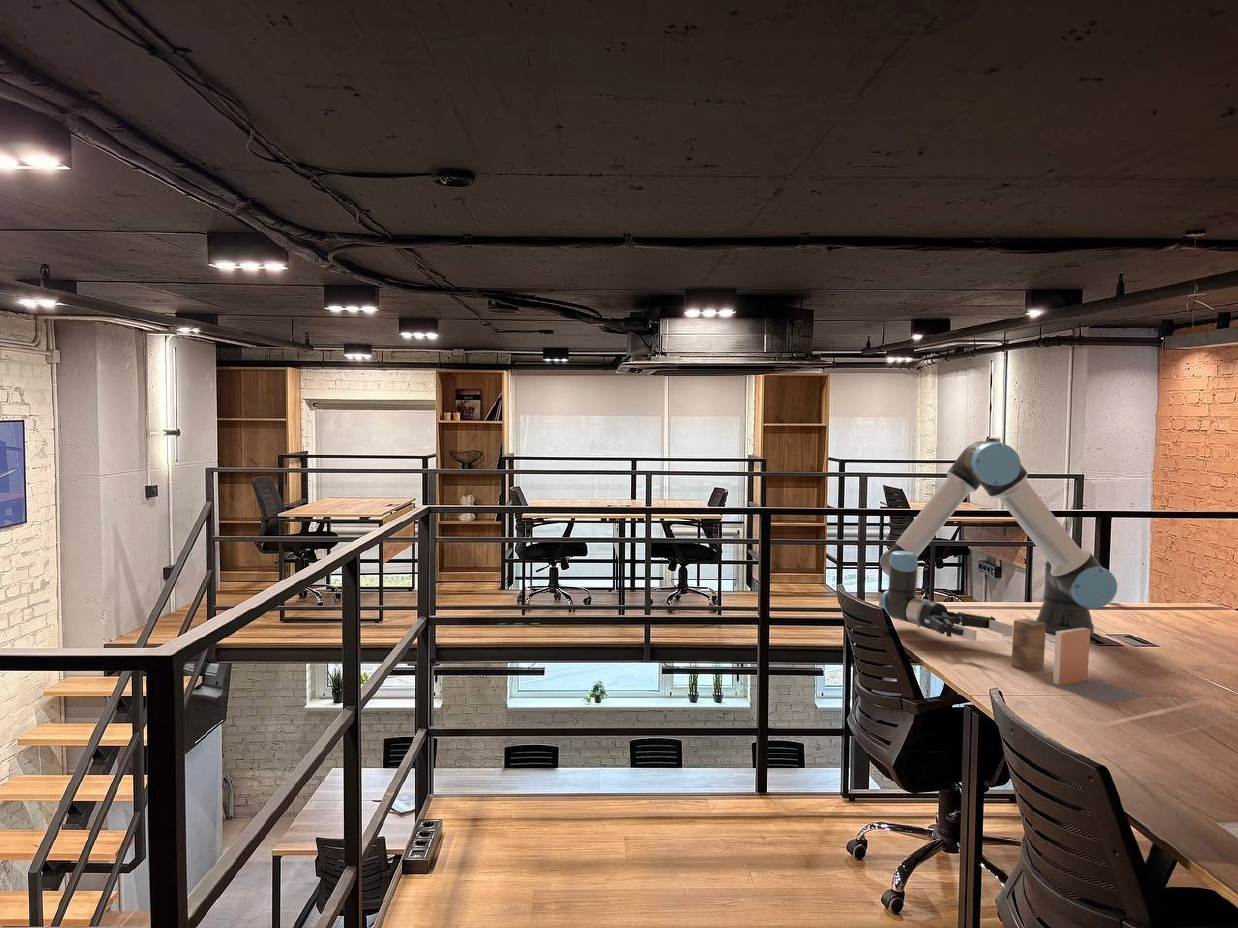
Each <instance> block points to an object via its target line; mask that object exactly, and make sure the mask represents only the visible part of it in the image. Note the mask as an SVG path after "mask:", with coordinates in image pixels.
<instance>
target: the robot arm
mask: <svg viewBox="0 0 1238 928" xmlns="http://www.w3.org/2000/svg"><path fill="white" fill-rule="evenodd" d="M1021 463H1022V462H1021V458H1020V455H1019V454H1018V452H1017V451H1016V450H1015V449H1014V448H1012V446H1010V445H1007V444H1006V443H1003V442H1000V441H986V440H985V441H984V440H982V441H976V442H972V443H971V444H970V445H968V446H967V447H966V448H965V449H963V451H962V452H961V453H960V455H958V457H957V458H956V460H955V461H954V462H953V464H952V465H951V467H950V468H949V469H948V470H947V472H946V479H945V480H944V481H943V482H942V484H941V485H940V487H938V489H937V490H936V491H935V493H933V494H932V497H931V498H930V499H929V500H928V501H927V503H926V504H925V505H924V506H923V508H922V509H921V510H920V512H919V513H918V514H917V516H915V517H914V519H913V520H912V522H911V523H910V524H909V526H908V527H907V528H906V529H905V530H904V532H903V533H902V534H901V535H900V537H899V538H898V539H897V541H896V542H895V543H894V544H893V545H892V546H891V548H890V549H889V550H887V551H885V552H884V553H883V554H881V555H880V556H881V557H880V558H879V564H880V568H881V570H882V571H883V573H884V574H885V575H887V576H888V589H887V590H885V591H883V593H881V595H880V598H879V601H878V607H879V606H882V608H884V609H885V611H886V612H887V614H888V615H889V617H891V618H892V619H895V620H899V621H902V622H906V623H910V624H913V625H916V627H917V628H921V627H922V628H926V629H929V630H931V631H935V632H937V633H939V634H941V635H944V634H945V633H946V637H947V638H948V637H949V638H952V635H953V636H956V637H959V638H963V639H967V640H970V641H973V642H976V641H977V631H978V630H977V629H978V628H979V629H980V628H981V629H988V631H990V632H995V633H998V634H1002V635H1006V636H1008V637H1013V628H1014V624H1013V625H1012V624H1008V623H1005V622H1002V621H998V620H996V618H995V617H994V616H990V617H989V616H982V615H976V614H972V613H971V614H970V613H965V612H961V611H958V612H954V611H948V609H947V607H946V606H945V604H942V603H939V602H936V601H932V600H929V599H925V598H921V597H917V596H916V595H917V594H916V592H917V581H918V580H917V579H918V568H919V564H918V562H919V561H918V557H919V556H920V555H921V554H922V552H923V551H924V550H925V549H926V547H927V546H928V545H929V544H930V543H931V542H932V540H933V539H934V537H935V536H936V535H937V534H938V533H939V531H940V530H941V529H942V527H943V526H944V525H945V524H946V523H947V521H948V520H949V519H950V517H951V516H952V515H953V514H954V513H955V512H956V510H957V509H958V508H959V507H960V505H961V504H962V502H964V500H965V499H966V498H967V497H968V495H969V494H970V493H974V492H975V493H976V491H977V490H978V489H979V487H981V486H982V488H983V489H984V490H985V492H986V493H987V494H988V496H989V497H990V498H995V499H999V501H1001V503H1002V504H1003V506H1004V507H1005V508H1006V509H1007V511H1008V512H1009V514H1010V515H1011V516H1012V517H1013V518H1014V520H1015V521H1016V522H1017V523H1018V525H1019V526H1020V527H1021V529H1022V530H1023V531H1024V532H1025V534H1026V536H1028V537H1029V539H1030V540H1031V541H1032V542H1033V544H1034V545H1035V547H1036V548H1037V549H1038V550H1039V551H1040V553H1041V554H1042V555H1043V556H1044V558H1045V559H1046V561H1045V563H1044V566H1045V568H1044V570H1045V571H1044V589H1043V590H1044V591H1043V592H1044V593H1043V603H1042V606H1041V607H1040V611H1039V613H1038V616H1037V617H1036V619H1035V621H1039V622H1042V623H1046V633H1049V634H1053V635H1056V631H1062V630H1069V629H1076V628H1088V629H1090V637H1092V636H1094V634H1095V626H1094V623H1093V621H1092V616H1091V612H1090V609H1100V608H1103V607H1106V606H1107V605H1109V604H1110V603H1111V602H1112V601H1113V600H1114V599H1115V598H1116V595H1117V590H1118V582H1117V579H1116V577H1115V575H1114V574H1113V573H1112V572H1111V571H1109V570H1108V569H1107V568H1105V567H1103V566H1102V565H1101V564H1100V563H1099V561H1098V560H1097V559H1096V557H1095V556H1094V555H1093V554H1092V553H1091V551H1090V550H1088V549H1083V548H1080V547H1079V546H1078V544H1077V543H1076V542H1075V541H1074V539H1073V538H1072V537H1071V536H1070V534H1069V533H1068V532H1067V531H1066V529H1065V528H1064V527H1063V525H1062V524H1061V522H1060V521H1058V519H1057V518H1056V517H1055V515H1054V514H1053V513H1052V511H1051V510H1050V509H1049V507H1047V505H1046V503H1045V502H1044V501H1043V500H1042V499H1041V497H1040V496H1039V495H1038V494H1037V493H1036V491H1035V490H1034V488H1032V486H1031V485H1030V484H1029V482H1028V479H1027V478H1028V472H1027V470H1026V469H1025V467H1024V466H1023V465H1022V464H1021ZM971 627H972V628H971ZM974 628H977V629H974Z"/></svg>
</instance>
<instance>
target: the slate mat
mask: <svg viewBox="0 0 1238 928" xmlns="http://www.w3.org/2000/svg"><path fill="white" fill-rule="evenodd" d="M1044 684H1045V685H1048V686H1051V687H1055V688H1058V689H1060V690H1064V691H1067V692H1070V693H1073V694H1075V695H1079V696H1082V697H1085V698H1089V699H1091V700H1095V701H1098V702H1101V703H1104V704H1108V705H1111V704H1114V703H1119V702H1125V701H1128V700H1129V701H1130V700H1133V699H1134V700H1135V699H1138V698H1142V697H1147V696H1148V695H1147V694H1143V693H1141V692H1137V691H1133V690H1130V689H1127V688H1124V687H1121V686H1117V685H1115V684H1114V685H1113V684H1110V683H1107V682H1104V681H1101V680H1097V679H1094V678H1091V677H1088V678H1087V680H1084V681H1079V682H1074V683H1068V684H1063V685H1058V684H1055V683H1053V680H1051V681H1047V682H1044Z"/></svg>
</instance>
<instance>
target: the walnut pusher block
mask: <svg viewBox="0 0 1238 928" xmlns="http://www.w3.org/2000/svg"><path fill="white" fill-rule="evenodd" d="M1046 633H1047V632H1046V623H1042V622H1039V621H1036V619H1035V620H1034V619H1030V618H1024V619H1016V620H1015V619H1014V620H1013V634H1012V647H1011V648H1012V649H1011V650H1012V651H1011V667H1013V668H1015V669H1018V670H1022V671H1024V672H1027V673H1033V672H1038V671H1044V666H1045V664H1044V663H1045V662H1044V661H1045V651H1046V650H1045V649H1046V646H1045V645H1046Z"/></svg>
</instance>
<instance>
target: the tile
mask: <svg viewBox="0 0 1238 928" xmlns="http://www.w3.org/2000/svg"><path fill="white" fill-rule="evenodd" d="M1054 640H1055V641H1054V657H1053V658H1054V659H1053V660H1054V661H1053V673H1052V674H1053V677H1052V681H1053V683H1055V684H1058V685H1063V684H1068V683H1074V682H1079V681H1084V680H1087V678H1089V676H1088V675H1089V674H1088V672H1089V663H1090V662H1089V659H1090V643H1091V636H1090V629H1088V628H1076V629H1069V630H1062V631H1056V634H1055V639H1054Z"/></svg>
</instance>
